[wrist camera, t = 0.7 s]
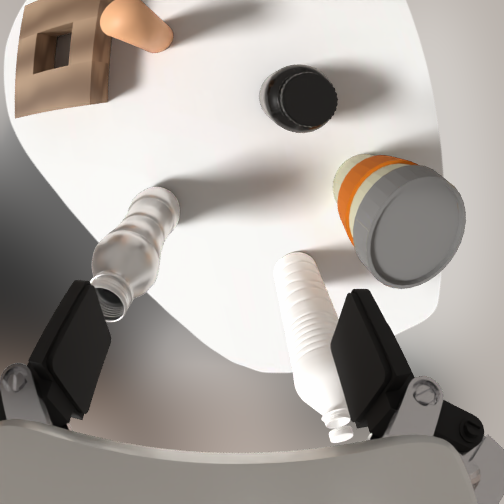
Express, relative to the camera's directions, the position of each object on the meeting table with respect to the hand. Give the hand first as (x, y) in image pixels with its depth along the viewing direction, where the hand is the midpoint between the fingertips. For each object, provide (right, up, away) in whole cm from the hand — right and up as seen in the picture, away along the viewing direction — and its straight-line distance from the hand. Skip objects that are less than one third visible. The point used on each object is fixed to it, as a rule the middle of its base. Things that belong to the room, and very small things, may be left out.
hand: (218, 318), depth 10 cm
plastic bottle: (-11, +9, +27) cm, 30 cm away
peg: (-10, +28, +16) cm, 33 cm away
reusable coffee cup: (+16, +11, +27) cm, 34 cm away
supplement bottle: (+5, +21, +21) cm, 30 cm away
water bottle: (+8, -1, +34) cm, 35 cm away
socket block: (-22, +28, +15) cm, 39 cm away
